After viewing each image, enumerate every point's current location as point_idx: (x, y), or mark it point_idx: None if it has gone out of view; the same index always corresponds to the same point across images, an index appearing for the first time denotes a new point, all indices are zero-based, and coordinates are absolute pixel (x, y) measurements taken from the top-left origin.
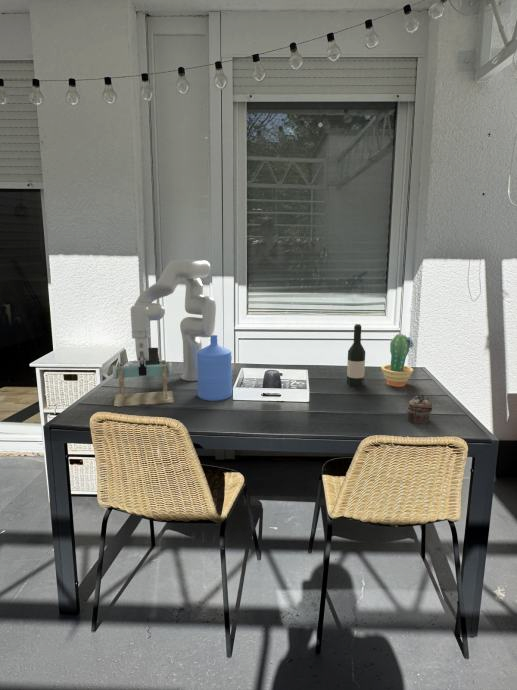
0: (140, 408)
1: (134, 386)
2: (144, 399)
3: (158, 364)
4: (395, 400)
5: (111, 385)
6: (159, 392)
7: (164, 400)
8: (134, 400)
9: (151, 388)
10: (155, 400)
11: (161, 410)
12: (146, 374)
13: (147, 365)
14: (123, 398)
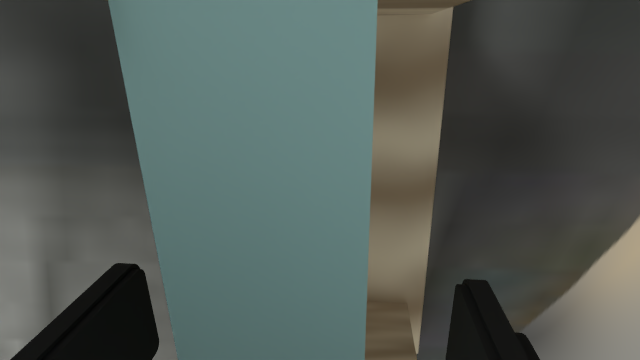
0: (507, 197)
1: (24, 226)
2: (393, 176)
3: (135, 74)
4: None
5: (18, 343)
6: None
7: (451, 8)
8: (396, 243)
9: (60, 113)
10: (444, 91)
11: (627, 41)
12: (489, 285)
13: (213, 318)
14: (410, 323)
